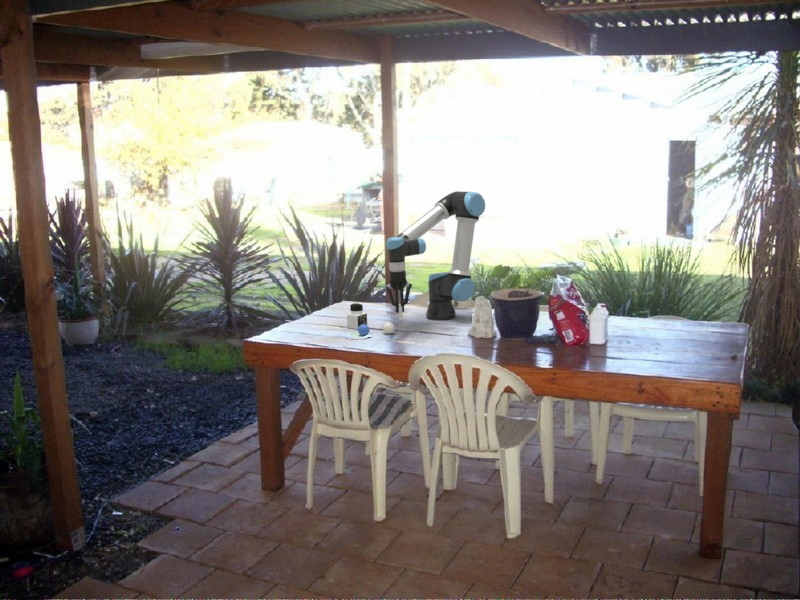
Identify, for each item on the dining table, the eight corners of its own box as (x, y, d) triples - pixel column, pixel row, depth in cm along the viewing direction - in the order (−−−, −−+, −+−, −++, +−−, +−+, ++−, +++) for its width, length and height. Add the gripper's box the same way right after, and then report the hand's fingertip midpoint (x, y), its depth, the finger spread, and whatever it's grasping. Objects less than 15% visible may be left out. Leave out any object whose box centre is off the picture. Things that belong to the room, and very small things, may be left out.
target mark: (370, 331, 392) (370, 331, 392) (376, 338, 378) (376, 337, 378) (341, 334, 389) (341, 334, 389) (346, 340, 375) (346, 340, 375)
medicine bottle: (358, 329, 397) (357, 305, 395) (347, 328, 402) (346, 304, 400) (367, 326, 403) (366, 303, 401) (356, 325, 407) (355, 301, 405)
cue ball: (382, 320, 387) (380, 331, 388) (386, 322, 382) (383, 334, 383) (393, 322, 389) (391, 333, 390) (397, 324, 384) (394, 336, 385)
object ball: (362, 320, 386) (354, 329, 385) (364, 323, 380) (356, 331, 380) (370, 328, 387) (362, 336, 387) (372, 330, 382) (364, 339, 382)
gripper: (385, 273, 377) (388, 322, 382) (412, 270, 380) (415, 319, 385) (382, 270, 385) (385, 319, 389) (409, 267, 387) (411, 316, 392)
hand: (400, 319), depth 387 cm, fingers closed
